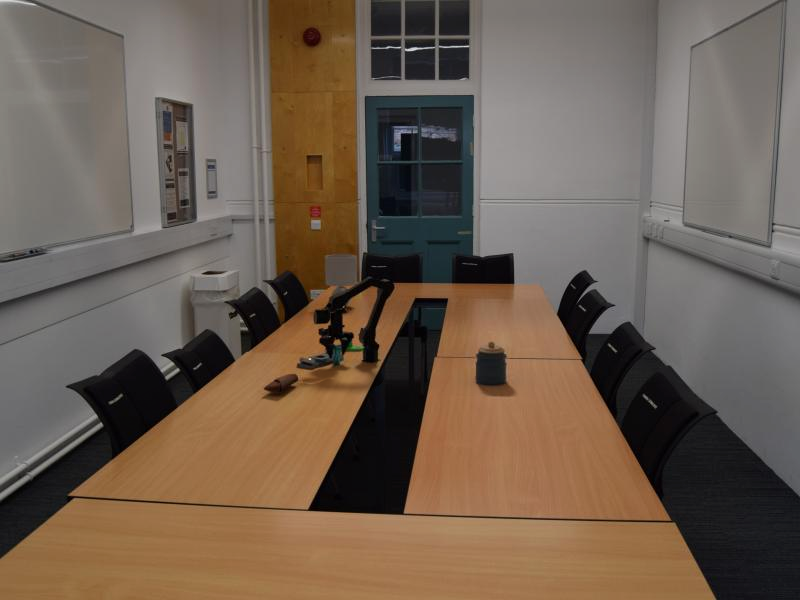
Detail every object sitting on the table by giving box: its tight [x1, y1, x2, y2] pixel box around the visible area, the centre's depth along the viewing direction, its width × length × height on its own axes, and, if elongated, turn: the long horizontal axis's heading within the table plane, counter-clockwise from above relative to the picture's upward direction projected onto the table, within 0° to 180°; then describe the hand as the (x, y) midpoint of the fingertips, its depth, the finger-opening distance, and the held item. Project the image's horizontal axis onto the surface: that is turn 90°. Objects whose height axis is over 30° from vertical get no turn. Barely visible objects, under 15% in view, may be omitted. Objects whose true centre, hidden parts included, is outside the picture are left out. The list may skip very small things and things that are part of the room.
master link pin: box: [333, 344, 341, 366], centre depth 371 cm, size 4×4×9 cm
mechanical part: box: [340, 340, 365, 352], centre depth 401 cm, size 12×6×8 cm, turn 77°
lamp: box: [324, 254, 358, 307], centre depth 518 cm, size 20×20×35 cm
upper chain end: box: [307, 347, 345, 363], centre depth 378 cm, size 8×16×5 cm, turn 145°
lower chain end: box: [296, 357, 334, 370], centre depth 371 cm, size 8×16×4 cm, turn 145°
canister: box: [474, 341, 508, 387], centre depth 338 cm, size 13×13×18 cm
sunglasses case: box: [263, 373, 299, 395], centre depth 330 cm, size 18×7×7 cm
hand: (337, 356), depth 371 cm, fingers open, 9 cm apart
